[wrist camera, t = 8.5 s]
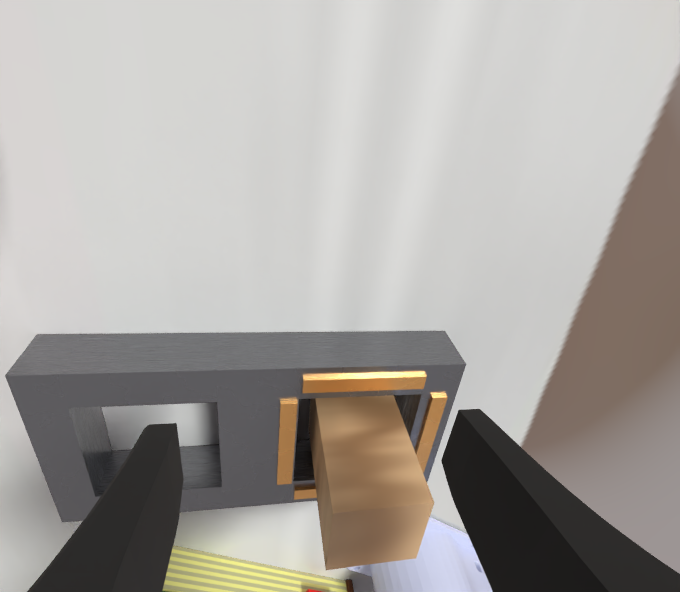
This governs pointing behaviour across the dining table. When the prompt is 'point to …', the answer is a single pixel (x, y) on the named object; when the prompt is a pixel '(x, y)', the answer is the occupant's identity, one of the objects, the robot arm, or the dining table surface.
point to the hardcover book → (239, 575)
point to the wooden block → (366, 481)
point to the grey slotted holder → (222, 404)
